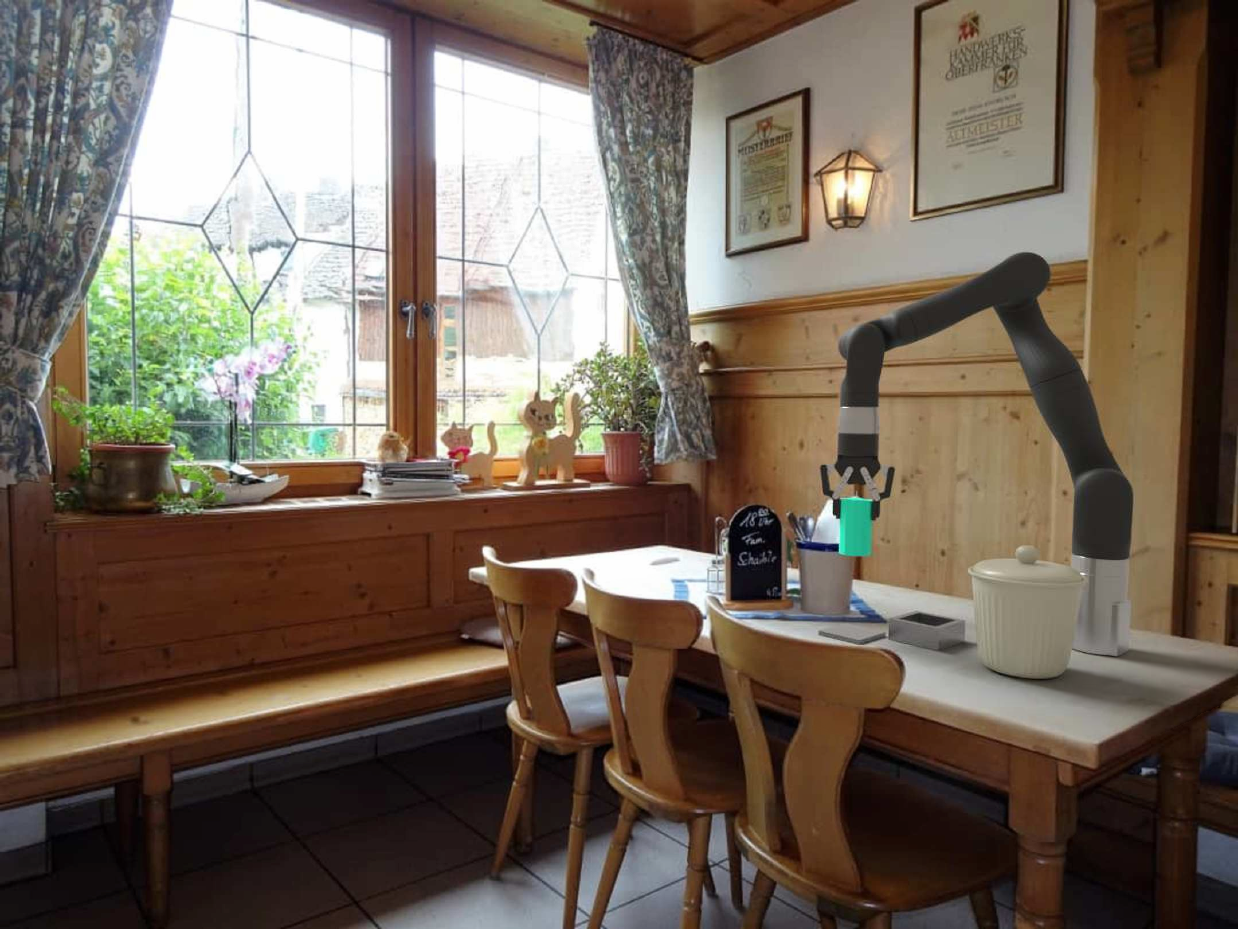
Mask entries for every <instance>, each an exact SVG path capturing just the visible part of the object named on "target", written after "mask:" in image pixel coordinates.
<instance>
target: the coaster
mask: <svg viewBox="0 0 1238 929" xmlns="http://www.w3.org/2000/svg"><path fill="white" fill-rule="evenodd" d="M817 633H818V635H819V636H823V637H826V638H830V639H835V640H839V641H843V642H847V643H852V644H856V645H862V644H864V643H863V642H866V643H869V642H872V641H875V640H878V639H881V638H882V639H883V638H885V637H886V634H887V633H886V631H881V630H878V629H873V628H868V627H863V626H859V625H854V624H850V623H842V624H838V625H834V626H830V627H827V628H822V629H819V630H818V632H817Z"/></svg>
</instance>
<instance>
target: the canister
mask: <svg viewBox="0 0 1238 929" xmlns="http://www.w3.org/2000/svg"><path fill="white" fill-rule="evenodd" d="M1014 554H1015V558H991V559H985V560H982V561H981V560H980V561H978V562H977V563H975V564H974V565H972V566H969V567H968V568H967V572H968V574H969V575H970V576H971V581H972V584H971V585H972V586H971V587H972V600H973V609H974V610H973V611H974V623H975V625H974V626H975V634H976V642H977V643H976V644H977V650H978V651H977V652H978V654H979V658H980V660H981V662H982V663H983V664H984V666H986V667H988V669H990V670H992V671H995V672H997V673H999V674H1000V673H1001V675H1005V676H1006V675H1007V676H1011V677H1017V678H1021V679H1022V678H1023V679H1033V680H1035V679H1037V680H1039V679H1043V680H1044V679H1052V678H1056V677H1059V676H1060V675H1062V674H1063V673H1064V672H1065V671H1066V669H1067V668H1068V666H1069V663H1070V660H1071V655H1072V650H1073V648H1072V646H1073V641H1074V636H1075V630H1076V625H1077V619H1078V613H1079V607H1080V602H1081V595H1082V589H1083V585H1085V584H1086V583H1087V582H1088V578H1087V577H1086V576H1084V575H1081V574H1080V573H1079V572H1078V571H1077V570H1075V569H1073V568H1071V566H1068V565H1065V564H1060V563H1056V562H1051V561H1046V560H1039V556H1040V551H1039V550H1038V549H1037V548H1036V547H1035V546H1032V545H1020V546H1019V547H1017V548H1016V550H1015V553H1014Z"/></svg>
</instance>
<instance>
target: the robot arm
mask: <svg viewBox="0 0 1238 929" xmlns="http://www.w3.org/2000/svg"><path fill="white" fill-rule="evenodd" d="M1051 274H1052V273H1051V267H1050V266H1049V263H1048V262H1047V260H1046V259H1045V258H1044V257H1042V256H1041V255H1040V254H1037V253H1035V252H1030V251H1023V252H1016V253H1014V254H1012V255H1009V256H1008V257H1006V258H1005V259H1003V261H1001V262H1000V263H998V264H996V265H994V266H993V267H991V268H990V269H988V270H987V271H984V272H983V273H981V274H979V275H977V276H975V277H973V278H970V279H968V280H966V281H964V282H962V283H960V284H958V285H956V286H953V287H950V288H948V289H945V290H943V291H940V292H938V293H935V294H933V295H929V296H928V297H924V298H921V299H920V300H919V299H918V300H917V301H914V302H912V303H909V304H906V305H905V306H902V307H899V308H897V309H895V310H893V311H891V312H889V313H888V314H886V315H884V316H881V317H877V318H875V319H872V320H869V321H866V322H863V323H861V324H858V325H854V326H851V327H849V328H847V329H846V330H845V331H844V332H843V333H842V334H841V335H840V337H839V340H838V345H837V348H838V352H839V355H840V356H841V357H842V359H844V360H845V361H846V370H845V375H844V377H843V379H842V381H841V385H840V396H839V397H840V400H839V406H840V407H839V414H838V422H837V423H838V424H837V452H836V453H837V456H836V460H835V461H834V463H828V464H827V463H822V464H821V465H820V467H819V470H820V471H819V472H820V479H821V487H822V494H823V495H824V496H827V497H829V498H830V499H831V500H832V515H833V516H834V517H835V520H840V501H841V499H842V498H841V494H842V492H843V491H844V488H845V487H846V485H856V484H857V485H860V486H867V488H868V490H869V492H870V494H871V496H872V498H873V499H872V522H873V521H874V522H875V521H876V520H877V519H878V518H880V516H881V501H883V500H885V499H888V498H890V497H891V493H892V488H893V484H894V477H895V471H896V468H895V466H894V465H889V466H888V465H882V464H881V463H880V460H879V450H880V448H879V447H880V444H879V443H880V428H881V427H880V412H879V410H880V409H879V404H880V403H879V402H880V401H879V400H880V399H879V398H880V397H879V396H880V378H881V374H882V370H883V364H884V359H885V353H886V352H889V351H891V350H893V349H896V348H899V347H900V348H901V347H905V346H908V345H910V344H915V343H917V342H919V341H922V340H924V339H926V338H930V337H932V336H934V335H936V334H938V333H940V332H943V331H944V330H946V329H948V328H950V327H952V326H955V325H956V324H958V323H960V322H962V321H964V320H966V319H967V318H970V317H972V316H973V315H976V314H978V313H981V312H982V311H985V310H989V309H990V308H993V310H994V311H995V313H996V315H997V317H998V319H999V321H1000V323H1001V324H1002V326H1003V328H1004V330H1005V332H1006V333H1007V335H1008V338H1009V340H1010V342H1011V344H1012V347H1013V349H1014V351H1015V354H1016V358H1017V359H1018V362H1019V364H1020V367H1021V369H1022V372H1023V375H1024V377H1025V379H1026V382H1027V384H1028V387H1029V390H1030V392H1031V395H1032V397H1033V400H1034V402H1035V404H1036V407H1037V408H1038V411H1039V413H1040V415H1041V417H1042V418H1043V420H1044V422H1045V424H1046V425H1047V427H1048V430H1049V431H1050V432H1051V434H1052V435H1053V437H1054V439H1055V440H1056V442H1057V443H1058V446H1059V447H1060V449H1061V451H1062V453H1063V455H1064V458H1065V461H1066V464H1067V467H1068V470H1069V474H1070V477H1071V481H1072V484H1073V489H1074V492H1073V508H1072V511H1073V514H1072V516H1073V517H1072V534H1071V556H1070V557H1071V561H1070V562H1071V563H1070V567H1071V568H1073V569H1075V570H1077V571H1078V572H1079V573H1080V574H1081V575H1084V576H1086V577H1087V578H1088V582H1087V583H1086V584H1085V585H1083V589H1082V595H1081V602H1080V607H1079V613H1078V619H1077V625H1076V630H1075V636H1074V641H1073V646H1072V650H1076V651H1079V652H1083V653H1086V654H1087V653H1088V654H1094V655H1102V656H1103V655H1104V656H1113V657H1119V656H1121V655H1123V654H1125V653H1126V652H1129V651H1130V635H1131V634H1130V633H1131V616H1132V615H1131V614H1132V613H1131V612H1132V599H1130V598H1128V593H1129V592H1128V591H1129V573H1130V572H1129V571H1130V554H1131V553H1130V552H1131V544H1132V532H1133V531H1132V529H1133V515H1134V514H1133V513H1134V511H1133V510H1134V489H1133V487H1132V484H1131V483H1130V481H1129V479H1128V478H1127V476H1126V475H1125V474H1124V473H1123V471H1122V469H1121V468H1120V466H1119V464H1118V462H1117V460H1116V458H1115V457H1114V454H1113V453H1112V451H1111V449H1110V447H1109V446H1108V443H1107V441H1106V439H1105V437H1104V433H1103V431H1102V430H1103V429H1102V426H1101V422H1100V418H1099V414H1098V411H1097V410H1098V409H1097V407H1096V403H1095V401H1094V400H1095V399H1094V396H1093V393H1092V391H1091V388H1090V385H1089V383H1088V380H1087V378H1086V376H1085V373H1084V371H1083V369H1082V367H1081V365H1080V362H1079V361H1078V359H1077V358H1076V356H1075V355H1074V354H1073V353H1072V351H1071V350H1070V349H1069V347H1067V345H1065V343H1063V341H1062V340H1060V338H1058V336H1056V335H1055V333H1054V332H1053V331H1052V330H1051V328H1050V326H1049V325H1048V323H1047V321H1046V319H1045V317H1044V314H1043V312H1042V309H1041V307H1040V303H1039V300H1038V297H1040V296H1041V295H1042V293H1043V292H1045V290H1046V288H1047V287H1048V285H1049V284H1050V280H1051ZM833 470H835V471H836V472H837V474H838V475H839V476H840V480H839V482H838V484H837V485H836V486H837V487H835V489H834V490H832V489H831V485H830V476H831V475H832V473H833ZM880 471H881V472H882V476H883V477H884V478H886V480H885V484H884V490H883V491H881V492H879V490H878V487H877V485H876V483H875V480H874V478H875V477H876V476H877V474H878V473H879V472H880Z"/></svg>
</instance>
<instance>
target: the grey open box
mask: <svg viewBox="0 0 1238 929" xmlns="http://www.w3.org/2000/svg"><path fill="white" fill-rule="evenodd" d="M887 637H888V639H887V640H890V641H894V642H898V643H903V644H907V645H911V646H914V647H920V648H924V649H929V650H933V651H941V650H945V649H946V648H950V647H953V646H955V645H959V644H961V643H964V642H965V640H966V639H965V638H966V620H965V619H960V618H955V617H949V616H945V615H939V614H935V613H930V612H924V611H918V610H914V611H910V612H907V613H903V614H901V615H897V616H893V617H890V618H889V617H888V636H887Z"/></svg>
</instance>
